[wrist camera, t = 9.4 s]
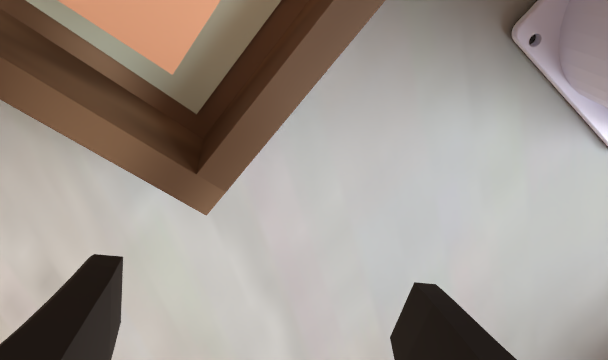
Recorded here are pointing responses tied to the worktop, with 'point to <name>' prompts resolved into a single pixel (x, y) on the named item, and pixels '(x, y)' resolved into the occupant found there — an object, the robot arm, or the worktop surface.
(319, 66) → the arena
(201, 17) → the cube
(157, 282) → the worktop surface
